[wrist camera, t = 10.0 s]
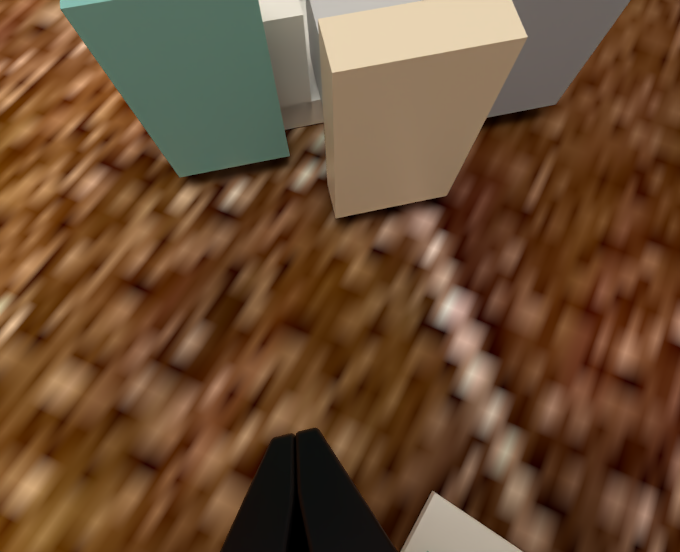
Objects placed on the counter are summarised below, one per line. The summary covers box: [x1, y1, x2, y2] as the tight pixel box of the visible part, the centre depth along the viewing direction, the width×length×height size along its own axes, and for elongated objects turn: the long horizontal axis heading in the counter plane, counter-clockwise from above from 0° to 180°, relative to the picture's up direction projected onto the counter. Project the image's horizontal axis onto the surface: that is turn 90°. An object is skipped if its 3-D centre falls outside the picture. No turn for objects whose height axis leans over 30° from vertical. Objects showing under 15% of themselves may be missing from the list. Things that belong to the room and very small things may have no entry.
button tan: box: [306, 0, 528, 218], centre depth 14 cm, size 7×4×8 cm, turn 13°
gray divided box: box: [258, 0, 423, 130], centre depth 17 cm, size 6×17×6 cm, turn 102°
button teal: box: [60, 0, 290, 177], centre depth 14 cm, size 7×4×8 cm, turn 13°
